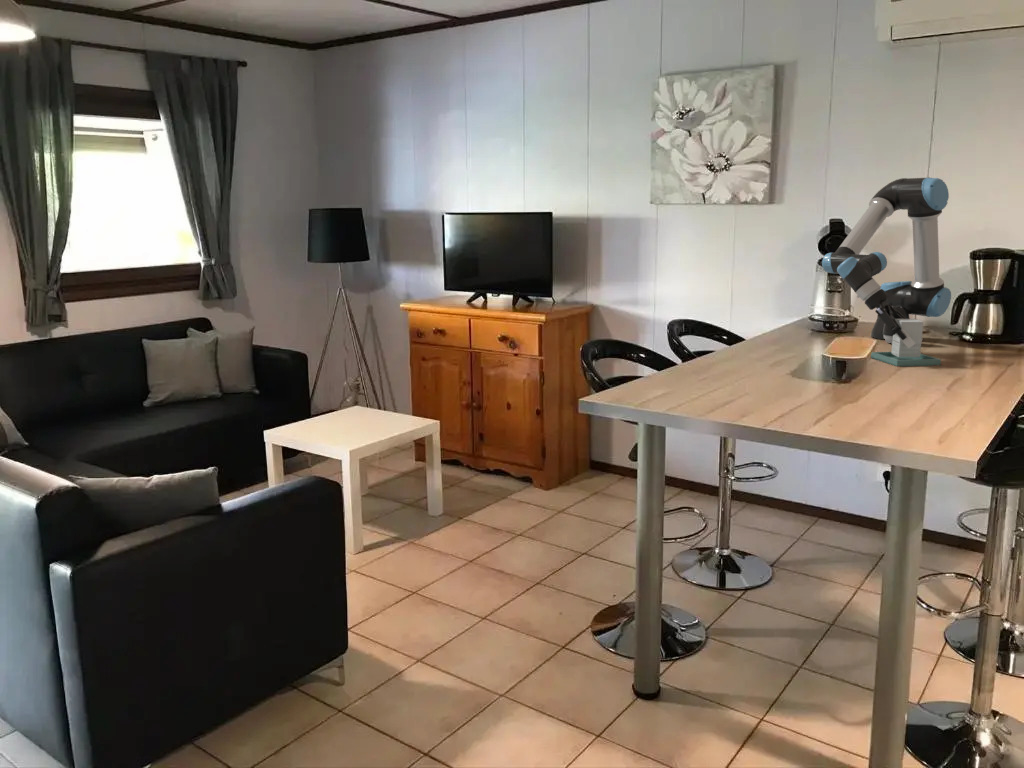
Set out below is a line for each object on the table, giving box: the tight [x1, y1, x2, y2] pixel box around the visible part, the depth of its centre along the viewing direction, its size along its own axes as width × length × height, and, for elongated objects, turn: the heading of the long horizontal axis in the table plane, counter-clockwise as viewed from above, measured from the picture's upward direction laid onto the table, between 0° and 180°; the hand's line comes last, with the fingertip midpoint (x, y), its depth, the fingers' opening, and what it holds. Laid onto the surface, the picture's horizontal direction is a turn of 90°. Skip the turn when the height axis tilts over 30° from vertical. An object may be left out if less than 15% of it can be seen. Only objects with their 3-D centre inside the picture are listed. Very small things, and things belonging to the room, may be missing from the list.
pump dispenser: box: [883, 305, 911, 345], centre depth 327 cm, size 10×10×15 cm
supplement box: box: [890, 318, 924, 357], centre depth 290 cm, size 7×7×13 cm
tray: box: [870, 351, 942, 367], centre depth 291 cm, size 16×16×2 cm
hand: (916, 344), depth 288 cm, fingers closed on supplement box, 10 cm apart
